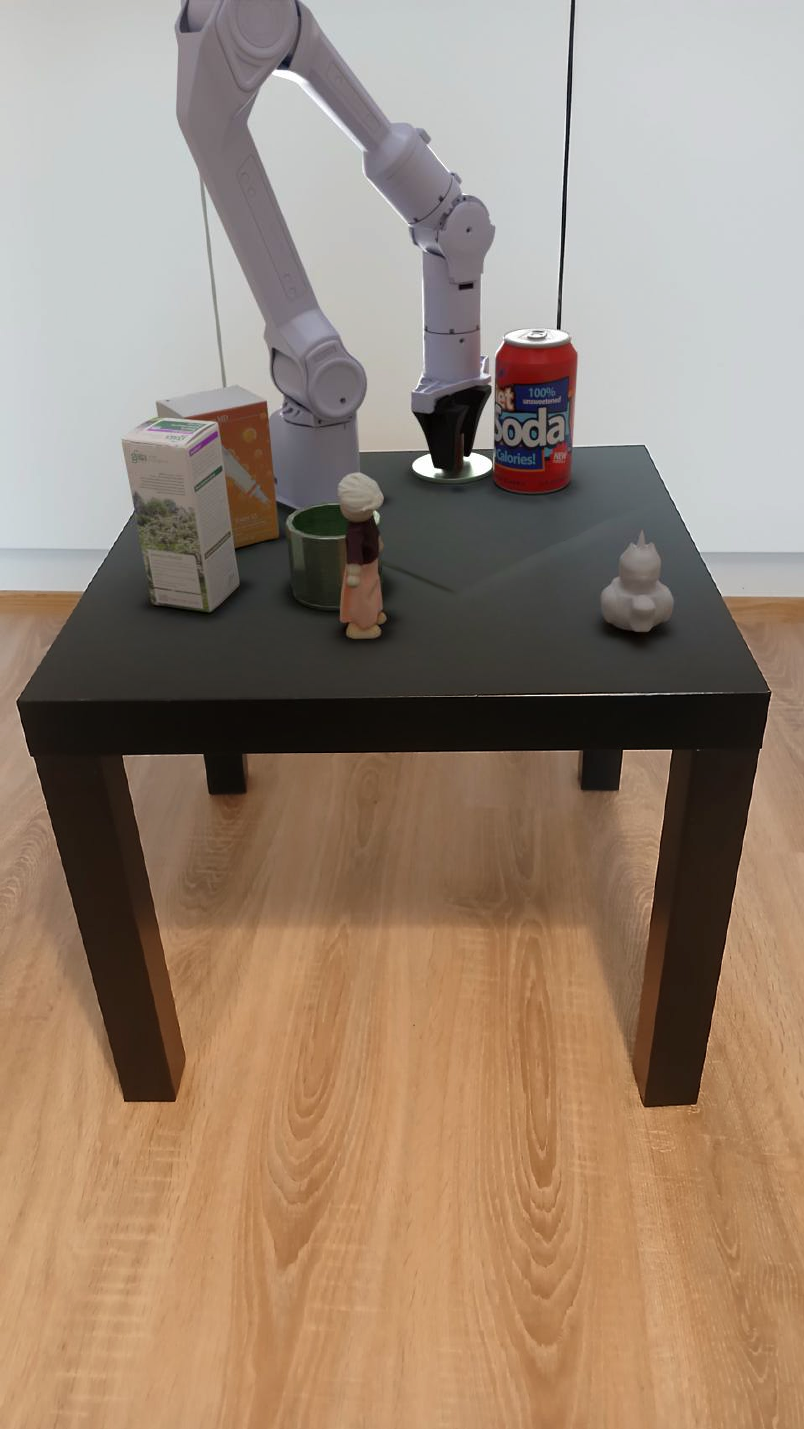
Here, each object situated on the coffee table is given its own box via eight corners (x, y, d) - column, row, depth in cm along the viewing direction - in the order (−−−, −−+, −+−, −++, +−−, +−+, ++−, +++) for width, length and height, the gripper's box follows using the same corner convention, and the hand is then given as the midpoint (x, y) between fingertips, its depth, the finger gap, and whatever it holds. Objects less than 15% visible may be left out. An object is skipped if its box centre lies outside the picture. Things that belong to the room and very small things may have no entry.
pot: (274, 590, 90) (267, 520, 86) (342, 563, 94) (338, 494, 90) (332, 620, 85) (326, 546, 81) (401, 589, 89) (398, 518, 86)
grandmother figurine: (344, 606, 87) (334, 457, 80) (391, 606, 87) (385, 456, 80) (336, 653, 80) (325, 495, 73) (386, 653, 80) (380, 494, 73)
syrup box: (242, 585, 91) (221, 417, 83) (210, 616, 86) (184, 442, 78) (183, 577, 92) (157, 412, 84) (148, 607, 88) (117, 436, 80)
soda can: (573, 474, 110) (582, 325, 102) (566, 503, 104) (575, 346, 96) (499, 471, 112) (502, 324, 104) (487, 498, 106) (489, 344, 97)
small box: (202, 559, 95) (182, 416, 88) (174, 537, 100) (153, 399, 93) (282, 537, 99) (268, 398, 92) (251, 516, 103) (236, 382, 96)
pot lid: (396, 475, 112) (394, 432, 109) (452, 455, 116) (451, 414, 114) (452, 495, 106) (452, 451, 104) (508, 473, 111) (510, 430, 109)
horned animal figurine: (661, 609, 85) (672, 515, 80) (677, 650, 79) (690, 552, 75) (593, 610, 85) (601, 517, 81) (605, 651, 79) (613, 553, 75)
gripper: (458, 349, 96) (458, 490, 104) (517, 314, 107) (513, 444, 114) (390, 342, 99) (394, 480, 106) (454, 309, 110) (454, 437, 117)
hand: (452, 461), depth 111 cm, fingers open, 4 cm apart
